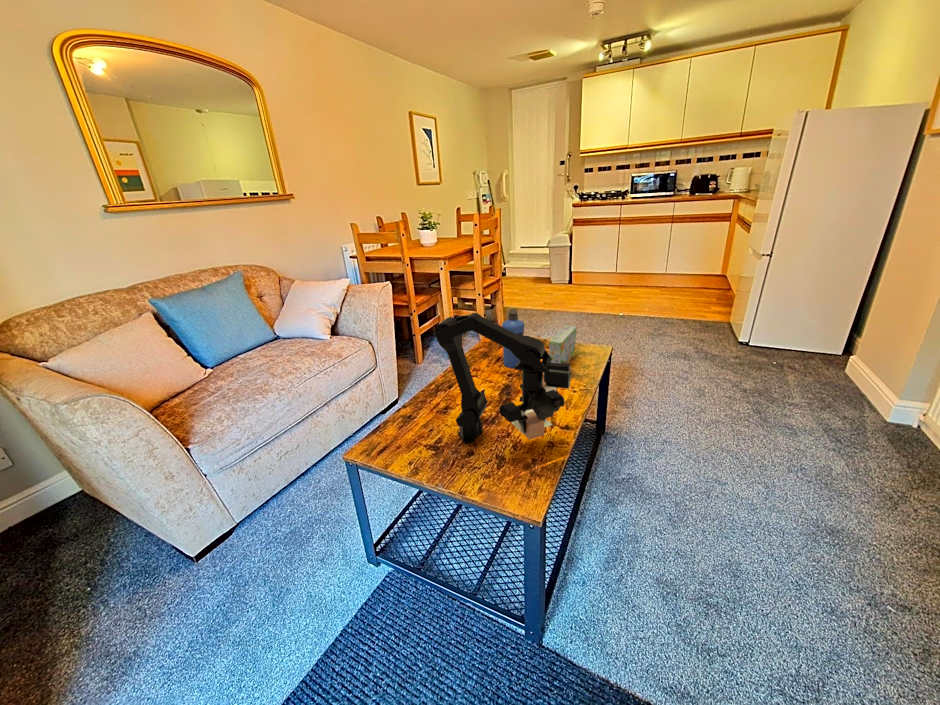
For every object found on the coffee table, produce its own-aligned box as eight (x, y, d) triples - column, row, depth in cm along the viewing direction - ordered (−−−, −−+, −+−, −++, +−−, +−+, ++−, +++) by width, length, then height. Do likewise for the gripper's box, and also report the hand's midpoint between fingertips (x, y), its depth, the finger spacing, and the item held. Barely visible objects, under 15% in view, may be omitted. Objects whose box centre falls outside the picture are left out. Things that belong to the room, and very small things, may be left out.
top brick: (529, 439, 114) (529, 425, 112) (520, 431, 118) (520, 417, 116) (544, 434, 116) (544, 420, 114) (534, 426, 120) (534, 412, 118)
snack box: (560, 377, 160) (561, 342, 154) (547, 374, 163) (548, 340, 157) (575, 357, 177) (577, 325, 171) (563, 355, 179) (564, 324, 173)
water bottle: (499, 362, 176) (497, 308, 166) (517, 357, 180) (516, 305, 170) (509, 370, 168) (508, 314, 158) (528, 365, 172) (528, 310, 162)
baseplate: (523, 436, 124) (523, 434, 124) (506, 420, 133) (506, 417, 133) (552, 427, 128) (552, 424, 128) (534, 411, 137) (534, 409, 137)
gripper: (518, 404, 100) (519, 454, 107) (577, 387, 107) (575, 434, 113) (497, 386, 110) (499, 433, 116) (553, 371, 116) (552, 416, 123)
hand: (532, 429), depth 117 cm, fingers closed on top brick, 5 cm apart
